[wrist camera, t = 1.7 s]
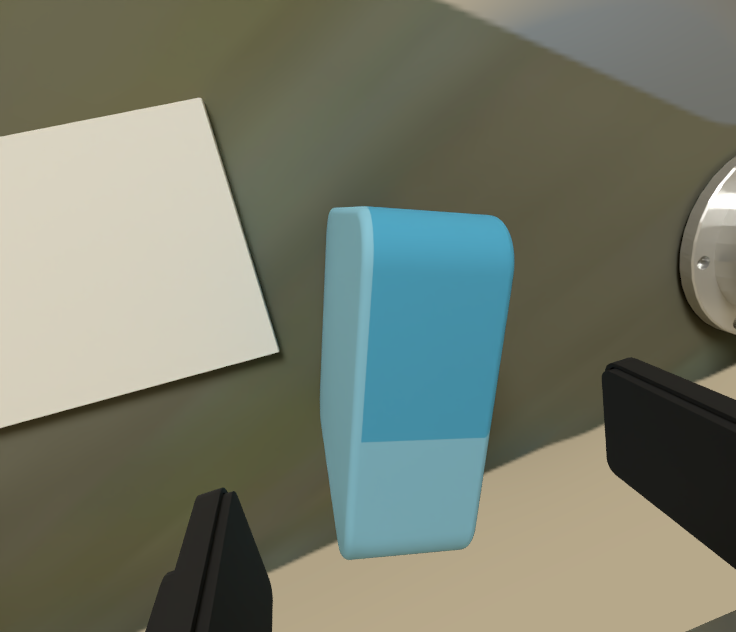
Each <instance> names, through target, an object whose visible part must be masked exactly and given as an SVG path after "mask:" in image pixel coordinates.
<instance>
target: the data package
mask: <svg viewBox="0 0 736 632" xmlns="http://www.w3.org/2000/svg"><path fill="white" fill-rule="evenodd" d="M513 274H514V249H513V244H512V240H511V236H510V234H509V231H508V229H507V227H506V226H505V224H504V223H503V222H502V221H501V220H500V219H498V218H497V217H494V216H491V215H479V214H465V213H451V212H437V211H423V210H409V209H395V208H381V207H367V206H363V207H343V208H333V209H331V211H330V212H329V216H328V223H327V236H326V260H325V284H324V309H323V334H322V358H321V383H320V417H321V426H322V433H323V440H324V447H325V454H326V461H327V469H328V476H329V483H330V490H331V497H332V504H333V511H334V518H335V525H336V533H337V540H338V545H339V550H340V553H341V554H342V556H343V557H344V558H345V559H348V560H352V559H364V558H373V557H385V556H396V555H406V554H418V553H428V552H439V551H449V550H460V549H464V548H466V547H467V546H468V545H469V544H470V542H471V541H472V538H473V536H474V532H475V527H476V520H477V514H478V507H479V501H480V494H481V487H482V481H483V474H484V467H485V461H486V454H487V448H488V441H489V434H490V428H491V421H492V414H493V408H494V401H495V394H496V388H497V381H498V374H499V368H500V361H501V354H502V348H503V341H504V334H505V328H506V321H507V314H508V308H509V301H510V295H511V288H512V281H513Z"/></svg>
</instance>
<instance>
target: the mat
mask: <svg viewBox="0 0 736 632" xmlns="http://www.w3.org/2000/svg"><path fill="white" fill-rule="evenodd" d="M277 352H279V346H278V342H277V339H276V336H275V333H274V329H273V326H272V323H271V320H270V316H269V313H268V310H267V307H266V303H265V300H264V297H263V293H262V290H261V287H260V284H259V280H258V277H257V274H256V271H255V267H254V264H253V261H252V257H251V254H250V251H249V248H248V244H247V241H246V238H245V235H244V231H243V228H242V225H241V222H240V218H239V215H238V212H237V208H236V205H235V202H234V199H233V195H232V192H231V189H230V186H229V182H228V179H227V176H226V172H225V169H224V166H223V163H222V159H221V156H220V153H219V150H218V146H217V143H216V140H215V137H214V133H213V130H212V127H211V123H210V120H209V117H208V114H207V110H206V107H205V104H204V101H203V99H202V98H196V99H191V100H186V101H180V102H175V103H170V104H165V105H160V106H155V107H150V108H145V109H140V110H135V111H130V112H125V113H120V114H114V115H109V116H104V117H99V118H94V119H89V120H84V121H79V122H74V123H69V124H64V125H59V126H53V127H48V128H43V129H38V130H33V131H28V132H23V133H18V134H13V135H8V136H3V137H0V428H2V427H6V426H9V425H13V424H17V423H20V422H24V421H28V420H31V419H35V418H39V417H42V416H46V415H50V414H53V413H57V412H61V411H64V410H68V409H72V408H75V407H79V406H83V405H86V404H90V403H94V402H97V401H101V400H105V399H108V398H112V397H116V396H119V395H123V394H127V393H130V392H134V391H138V390H141V389H145V388H149V387H152V386H156V385H160V384H163V383H167V382H171V381H174V380H178V379H182V378H185V377H189V376H193V375H196V374H200V373H204V372H207V371H211V370H215V369H218V368H222V367H226V366H229V365H233V364H237V363H240V362H244V361H248V360H251V359H255V358H259V357H262V356H266V355H270V354H273V353H277Z"/></svg>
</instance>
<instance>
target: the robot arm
mask: <svg viewBox="0 0 736 632" xmlns="http://www.w3.org/2000/svg"><path fill="white" fill-rule="evenodd" d="M680 275H681V282H682V287H683V290H684V293H685V296H686V299H687V301H688V303H689V304H690V306H691V307H692V309H693V311H694V312H695V313H696V314H697V315H698V316H699V317H700V318H701V319H702V320H703V321H704V322H705V323H707V324H709V325H711V326H712V327H714V328H716V329H719V330H722V331H725V332H729V333H732V334H736V157H734V158H733V159H731V160H730V161H729V162H727V163H726V164H725V165H724V166H723V167H722V168H721V169H720V170H719V171H718V172H717V173H716V174H715V175H714V176H713V178H712V179H711V181H710V182H709V183H708V185H707V186H706V187H705V189H704V190H703V191H702V193H701V194H700V196H699V198H698V200H697V202H696V204H695V206H694V207H693V209H692V211H691V213H690V216H689V219H688V222H687V224H686V227H685V230H684V234H683V239H682V244H681V249H680ZM602 389H603V405H604V421H605V437H606V451H607V462H608V465H609V467H610V469H611V470H612V471H613V472H614V474H615V475H617V476H618V477H619V478H620V479H622V480H623V481H624V482H625V483H627V484H628V485H629V486H630V487H632V488H633V489H634V490H636V491H637V492H638V493H639V494H641V495H642V496H643V497H644V498H646V499H647V500H648V501H650V502H651V503H652V504H653V505H655V506H656V507H657V508H658V509H660V510H661V511H662V512H664V513H665V514H666V515H667V516H669V517H670V518H671V519H673V520H674V521H675V522H677V523H678V524H679V525H680V526H681V527H683V528H684V529H685V530H686V531H688V532H689V533H690V534H692V535H693V536H694V537H696V538H697V539H698V540H699V541H700V542H702V543H703V544H704V545H706V546H707V547H708V548H709V549H711V550H712V551H713V552H715V553H716V554H717V555H718V556H720V557H721V558H722V559H723V560H725V561H726V562H727V563H729V564H730V565H731V566H732V567H734V568H735V569H736V400H734V399H732V398H729V397H727V396H725V395H722V394H720V393H717V392H715V391H713V390H710V389H708V388H705V387H703V386H700V385H698V384H696V383H693V382H691V381H689V380H686V379H684V378H681V377H679V376H677V375H674V374H672V373H669V372H667V371H664V370H662V369H660V368H657V367H655V366H652V365H650V364H648V363H645V362H643V361H640V360H638V359H635V358H626V359H623V360H620V361H617V362H614V363H610V364H609V365H607V367H606V369H605V372H604V373H603V374H602ZM272 599H273V598H272V589H271V584H270V581H269V578H268V575H267V572H266V570H265V567H264V564H263V562H262V559H261V556H260V554H259V551H258V549H257V546H256V543H255V541H254V538H253V535H252V533H251V530H250V528H249V525H248V522H247V520H246V517H245V514H244V512H243V509H242V507H241V504H240V501H239V499H238V496H237V494H236V492H234V491H232V492H229V493H228V492H227V490H226V489H225V488H220V489H217V490H214V491H211V492H207V493H204V494H201V495H199V496H197V498H196V500H195V503H194V506H193V510H192V513H191V517H190V520H189V523H188V527H187V530H186V534H185V537H184V540H183V544H182V547H181V551H180V554H179V557H178V561H177V564H176V568H175V570H174V571H171V572H168V573H167V574H166V575H165V576H164V578H163V580H162V582H161V585H160V588H159V591H158V594H157V597H156V600H155V603H154V606H153V610H152V613H151V616H150V619H149V622H148V625H147V628H146V631H145V632H272V603H273V600H272ZM686 632H736V610H735V611H733V612H730V613H728V614H726V615H724V616H721V617H719V618H717V619H714V620H712V621H709V622H707V623H705V624H703V625H700V626H698V627H696V628H693V629H691V630H689V631H686Z"/></svg>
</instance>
